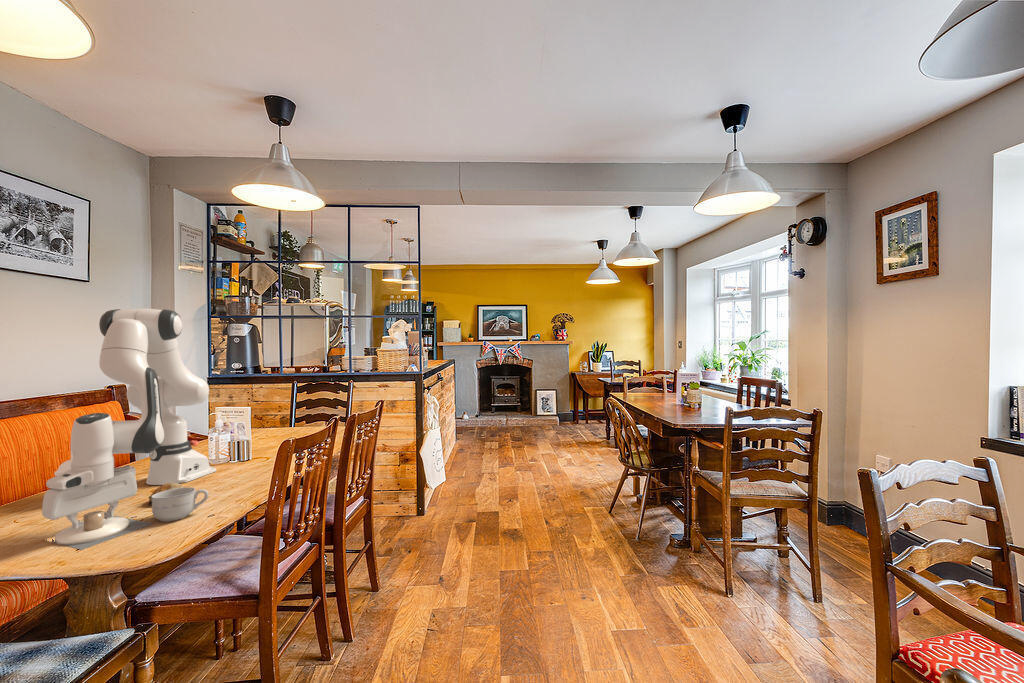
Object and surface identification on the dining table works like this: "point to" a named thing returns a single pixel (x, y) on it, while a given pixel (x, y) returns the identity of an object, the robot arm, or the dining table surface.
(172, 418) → the robot arm
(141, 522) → the mat
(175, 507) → the teacup
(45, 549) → the dining table surface
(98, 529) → the lid
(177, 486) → the bread roll
